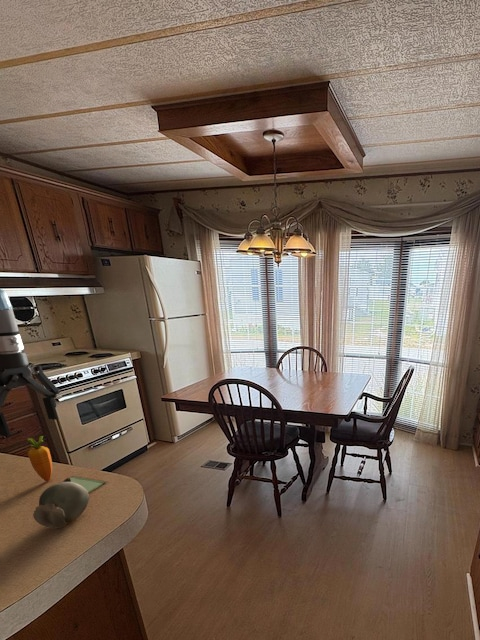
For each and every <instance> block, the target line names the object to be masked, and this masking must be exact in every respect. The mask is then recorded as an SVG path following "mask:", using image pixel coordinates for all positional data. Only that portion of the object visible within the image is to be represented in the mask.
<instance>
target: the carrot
mask: <svg viewBox="0 0 480 640" xmlns="http://www.w3.org/2000/svg"><path fill="white" fill-rule="evenodd" d="M43 438H44V435H40V436H39V437H38V441H36V440H35V439H34V438H32V437H29V438H27V441H28V443H29V444H30V447H31V448H30V449H29V450H28V451H27V457H28V458H29V461H30V464H31V466H32V468H33V469H34V471H35V472H36V474H37V475H38V477H40V478H41V479H42V480H43V481H45V482H50V480H51V478H52V475H53V459H52V456H51V451H50V448H48V447H47V446H43V445H42V444H43V443H44V440H43Z"/></svg>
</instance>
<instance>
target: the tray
mask: <svg viewBox="0 0 480 640" xmlns="http://www.w3.org/2000/svg"><path fill="white" fill-rule="evenodd" d="M69 478H70V479H71V482H74V483H77V484H79V485H81V486H82V487H84V488H85V489H86V490H87V492H88V494H90V493H92V492H93V491H95V490H96V489H98V488H100V487H102V486H103V485H105V484H106V481H102V480H97V479H92V478H86V477H79V476H73V475H72V476H70V477H69Z"/></svg>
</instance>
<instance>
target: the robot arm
mask: <svg viewBox="0 0 480 640" xmlns="http://www.w3.org/2000/svg"><path fill="white" fill-rule="evenodd" d="M24 349H25V346H24V343H23V340H22V337H21V334H20V329H19V326H18V324H17V320H16V316H15V313H14V310H13V305H12V303H11V301H10V298H9V296H8V293H7V292H6V291H5V290H4V289H1V288H0V410H1V409H2V407H3V405H4V402H5V400H6V399H7V397H8V394H9V392H11V391H12V389H15V388H19V387H25V386H28V387H30V388H31V389H33V390H34V391H35V392H38V393H39V394H40V395H42V396H44V397H43V398H42V402H43V405H44V408H45V412H46V415H47V419H48V420H53V421H56V420H59V417H58V414H57V410H56V408H57V403H56V398H57V397H58V395H59V394H60V391H61V390H60V389H58V387H57V386H56V385H55V384H54V383H53V382H52V381H51V379H50V378H49V377H48V376H47V375H46V373H44V370H43V368H42V365H36V364H35V365H34V364H32V365H30V366H29V364H30V361H29V359H28V356H27V352H26V351H24ZM32 374H33V375H34V377H35V378H36V380H35V378H33V377H31V375H32ZM37 381H39V382H40V383H39V382H37ZM4 414H5V413H4V412H1V411H0V437H1V436H2V437H11V436H12V434H11V430H10V429H9V425H8V423H7V420H6V417H5V415H4Z"/></svg>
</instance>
